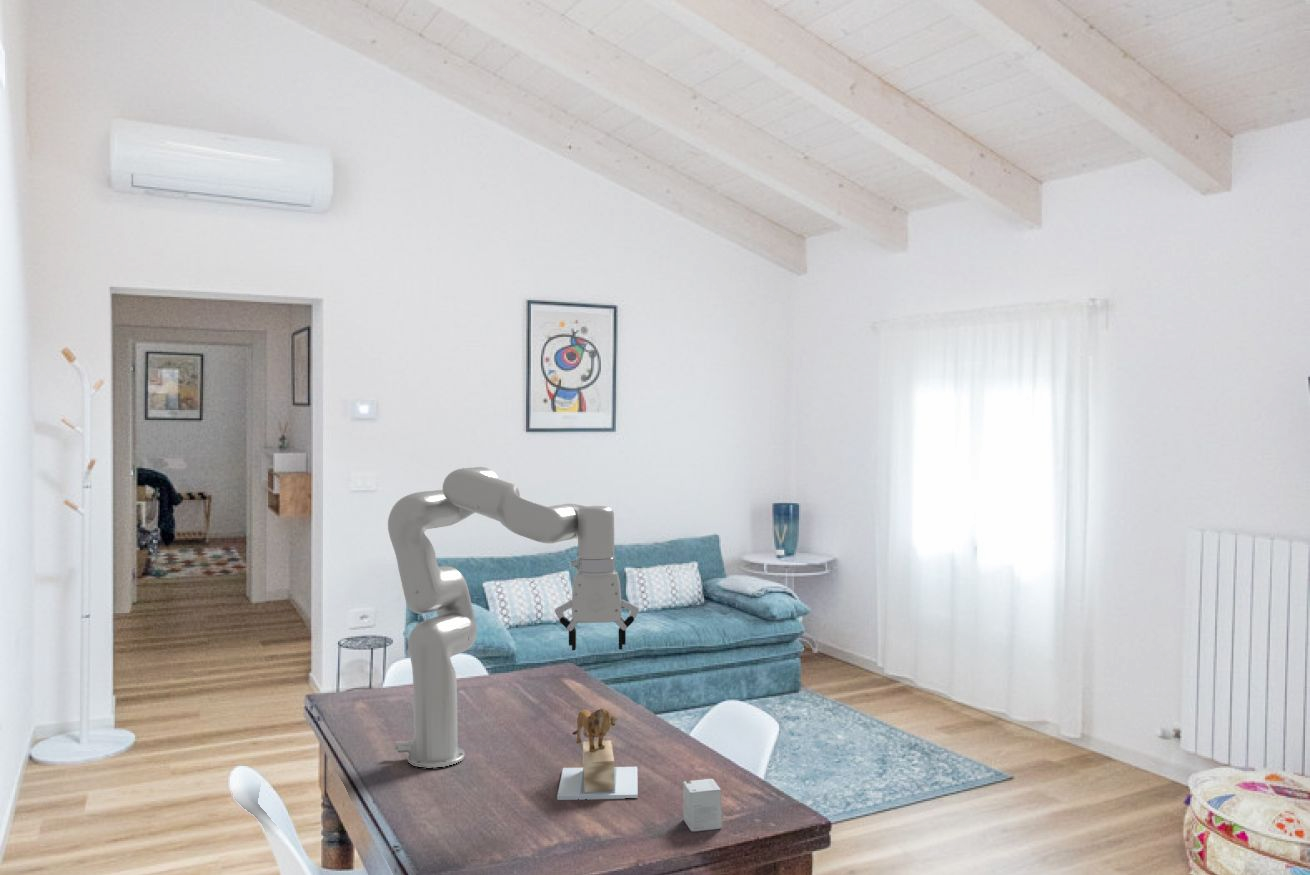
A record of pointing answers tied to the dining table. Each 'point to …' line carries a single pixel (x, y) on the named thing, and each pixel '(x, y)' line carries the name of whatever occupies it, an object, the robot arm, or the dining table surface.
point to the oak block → (598, 767)
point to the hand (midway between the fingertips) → (597, 648)
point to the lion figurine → (594, 726)
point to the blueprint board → (574, 790)
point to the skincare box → (702, 805)
